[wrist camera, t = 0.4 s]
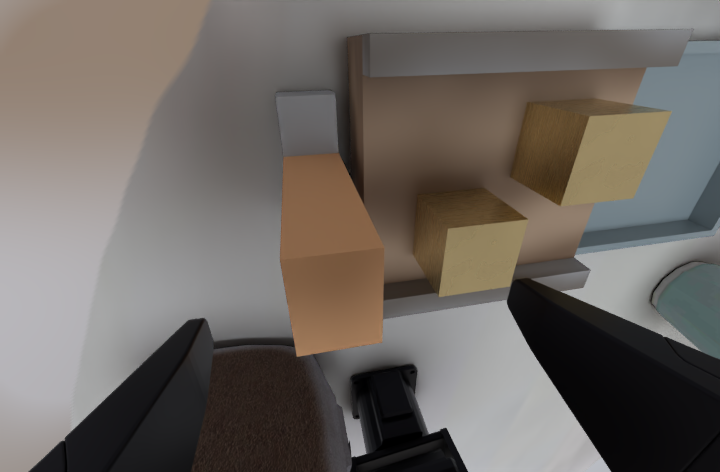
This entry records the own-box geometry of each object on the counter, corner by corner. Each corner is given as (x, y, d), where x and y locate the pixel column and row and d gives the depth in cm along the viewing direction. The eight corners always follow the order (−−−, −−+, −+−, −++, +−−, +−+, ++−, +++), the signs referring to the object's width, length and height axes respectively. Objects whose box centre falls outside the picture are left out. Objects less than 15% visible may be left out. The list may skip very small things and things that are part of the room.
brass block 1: (473, 246, 20) (509, 286, 17) (412, 254, 20) (438, 297, 16) (484, 187, 18) (528, 219, 15) (417, 194, 18) (448, 228, 14)
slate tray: (682, 221, 29) (713, 235, 27) (521, 242, 26) (541, 259, 24) (783, 39, 22) (837, 38, 20) (576, 43, 19) (611, 43, 17)
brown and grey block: (339, 242, 23) (381, 394, 13) (297, 246, 23) (305, 408, 13) (331, 90, 18) (386, 144, 8) (276, 92, 18) (261, 153, 7)
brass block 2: (571, 171, 19) (633, 198, 16) (510, 177, 18) (560, 206, 15) (595, 98, 17) (672, 111, 14) (527, 101, 16) (589, 116, 13)
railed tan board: (531, 245, 27) (583, 287, 22) (354, 269, 25) (370, 320, 20) (595, 33, 19) (693, 29, 15) (347, 37, 17) (369, 33, 12)
